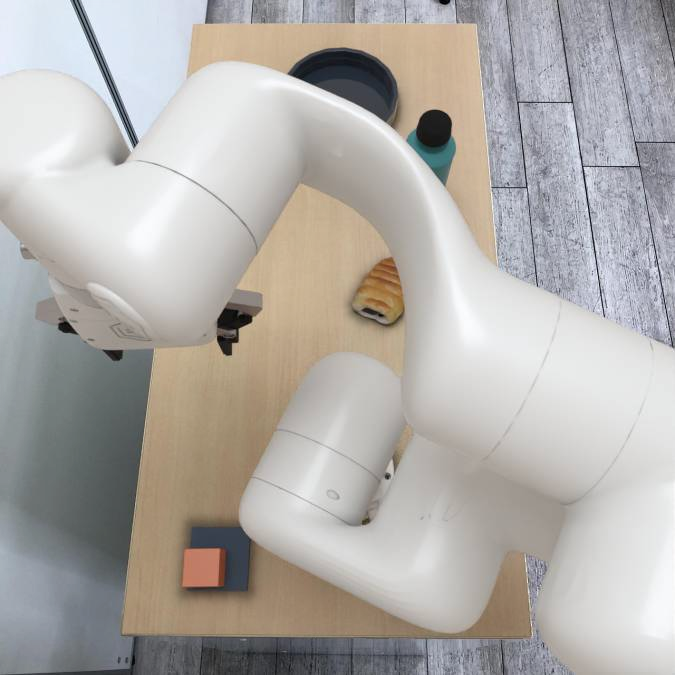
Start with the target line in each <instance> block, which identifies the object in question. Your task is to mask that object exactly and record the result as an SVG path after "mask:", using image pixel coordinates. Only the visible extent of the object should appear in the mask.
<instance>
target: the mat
mask: <svg viewBox="0 0 675 675" xmlns="http://www.w3.org/2000/svg"><path fill="white" fill-rule="evenodd" d="M250 547H251V538H250V537H249V536H248V535H247V534H246V533H245V532H244V530H243V528H242V527H241V526H240V527H237V526H236V527H235V526H234V527H233V526H232V527H231V526H230V527H229V526H225V527H224V526H192V527H191V534H190V544H189V549H204V548H221V549H225V550H226V561H225V583H224V586H219V587H185V589H186V591H224V592H225V591H233V592H235V591H237V592H239V591H240V592H246V591H248V585H249V584H248V583H249V582H248V581H249V567H250V566H249V565H250V549H251V548H250Z"/></svg>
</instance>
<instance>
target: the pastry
mask: <svg viewBox="0 0 675 675" xmlns="http://www.w3.org/2000/svg"><path fill="white" fill-rule="evenodd" d="M351 307H352V309H353V310H354V311H356V312H357V314H359V315H361V316H363V317H365V318H369V319H374V320H376V321H377V322H378V323H380V324H382V325H390V324H392V323H394V322H396V320H397V319H398V318H399V317H400V316H401V315H402V314H403V313H404V312H405V308H404V300H403V293H402V285H401V282H400V278H399V274H398V271H397V267H396V265H395V262H394V260H393V258H392V256H390V257H387V258H383V259H381V260H380V262H378V263H377V264H375V265H374V266H373V267H372V268H371V270H370V271H369V272H368V274H367V275H366V276H364V277H363V278H362V279H361V282H360V286H359V287H358V288H357V290H356V292H355V298H354V299H353V302H352V303H351Z"/></svg>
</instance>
